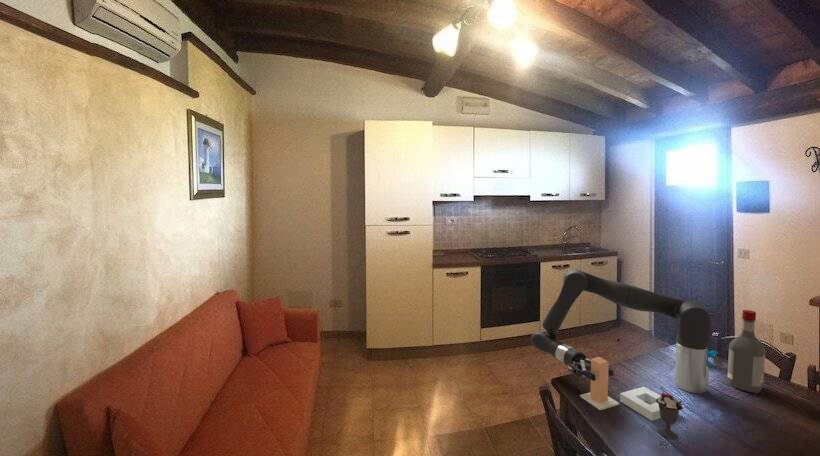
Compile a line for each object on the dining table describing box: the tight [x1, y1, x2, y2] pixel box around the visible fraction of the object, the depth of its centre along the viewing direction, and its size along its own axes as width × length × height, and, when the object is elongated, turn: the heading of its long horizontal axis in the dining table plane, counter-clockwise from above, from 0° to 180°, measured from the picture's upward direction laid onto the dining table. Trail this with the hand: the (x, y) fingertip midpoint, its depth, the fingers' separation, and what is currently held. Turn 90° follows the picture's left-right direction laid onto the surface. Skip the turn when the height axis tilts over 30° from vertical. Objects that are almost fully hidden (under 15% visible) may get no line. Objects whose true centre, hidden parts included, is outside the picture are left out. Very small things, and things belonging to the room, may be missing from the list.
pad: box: [579, 391, 620, 411], centre depth 126 cm, size 9×9×1 cm
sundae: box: [656, 386, 684, 440], centre depth 107 cm, size 7×7×15 cm
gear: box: [706, 349, 719, 368], centre depth 149 cm, size 11×6×10 cm
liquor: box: [726, 309, 766, 394], centre depth 131 cm, size 9×9×30 cm
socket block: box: [619, 386, 661, 422], centre depth 121 cm, size 12×12×3 cm
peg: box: [589, 356, 610, 403], centre depth 125 cm, size 4×4×15 cm
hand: (604, 376), depth 123 cm, fingers open, 8 cm apart
